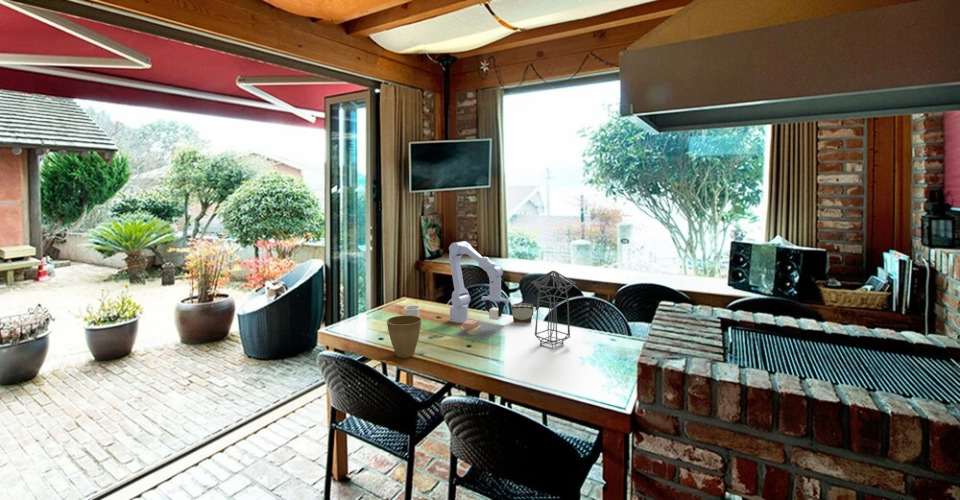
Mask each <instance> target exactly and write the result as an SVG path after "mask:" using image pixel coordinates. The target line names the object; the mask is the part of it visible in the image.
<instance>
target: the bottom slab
mask: <svg viewBox="0 0 960 500" xmlns="http://www.w3.org/2000/svg"><path fill="white" fill-rule="evenodd" d="M459 331H460V333H464V334H471V335H476V334H477V333H479V332H480V331H482V326H481V325H479V326H478V327H477V328H475V329H468V328H463V326H461V327H460V328H459Z"/></svg>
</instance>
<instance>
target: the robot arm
mask: <svg viewBox="0 0 960 500" xmlns="http://www.w3.org/2000/svg"><path fill="white" fill-rule="evenodd" d="M448 251H449V255H448V259H449V265H450V272H451V276H452V282H453V288H454V290H453V291H452V293H451V307H450V309H449V322H451V323H453V322H454V323H458V324H463V323H464V322H465V321H467V320H469V306H470V305H469V304H470V302H471V301H472V299H471V295H470V293H469V290H468V289H467V288H466V287H465V284H464V283H465V282H464V278H463V277H464V276H463V271H462V267H461V258H462V257H463V256H464V255H467V256H469V257H470V258H472V259H473V260H475V262H477V264H478V266H479V267H480V268H481V269H483V271H485V272H486V273H487V277H488V278H489V279H488V280H489V295H487V296H486V295H485V296H484V295H483V296H481V301H482V302H483V301H485V302H484V304H485V306H486V309H487V311H488V313H489V309H491V308H493V304H494V302H495V303H497V308H498V310H499V312H498V315H499V317H500V316H501V317H502V313H503V311H504V308H505V305H506V304H509V303H510V299H509V298H505V297H502V276H503V274H504V268H503V267H502V266H501V265H499V264H496V263H495V262H493V261H492V260H490V258H489V257H488V256H482V255H481V254H480V253H479V252H478V251H477V250H476V249H475V248H473V246H472V245H471V243H469V242H468V241H466V240H462V241H458V242H457V241H456V242H452V243H451V244H450V245H449V247H448Z"/></svg>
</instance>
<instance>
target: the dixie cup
mask: <svg viewBox="0 0 960 500" xmlns="http://www.w3.org/2000/svg"><path fill="white" fill-rule="evenodd" d="M420 309H421V307H420V306H419V305H407V306H405V307H404V308H403V310H404V314H405V315H411V316H417V317H420Z"/></svg>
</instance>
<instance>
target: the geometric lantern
mask: <svg viewBox="0 0 960 500" xmlns="http://www.w3.org/2000/svg"><path fill="white" fill-rule="evenodd" d="M565 279H566V280H567V281H566V280H565ZM550 280H553V281H552V283H553V284H552V285H553V286H547V285H548V284H549V282H550ZM555 283H556V287H555ZM530 284H532V285H534V287H535V288H536V289H538V295H537V299H536V300H537V301H536V302H537V303H536V318H535V319H536V320H535V328H534V329H535V330H534V337H536V338H537V339H538V341H540V344H539V345H540V346H541V347H544V348H548V349H552V350H554V349H558V348H560V347H562V346H564V342H565V341H567V340H568V339H570V338H571V328H570V308H569V307H570V306H569V305H570V303H569V302H570V300H569V297H568V291H569V290H571V288H572V287H574V286H575V285H576V281H573V280H572V279H570V278H568V277H566V276H565V275H563V274H561V273H560V272H558V271H556V270H551V271H549V272H547V273H545V274H543V275H542V276H540V277H537V278H536V279H534V280H532V281H531V282H530ZM567 284H568V285H567ZM563 285H564V286H563ZM541 289H543V290H541ZM545 289H546V290H545ZM553 289H556V291H555V292H554V294H553V295H552V294H551V293H550V291H551V290H553ZM563 289H564V290H563ZM558 291H559V292H560V295H556V294H557V293H558ZM542 293H544V294H545V296H542V297H541V294H542ZM547 293H549V295H548V294H547ZM562 294H565V296H566V297H563V296H561V295H562ZM552 297H553V302H552ZM544 298H547V299H548V301H544V300H541V299H544ZM556 298H557V299H556ZM559 298H560V299H564V300H562V301H559ZM557 301H559V302H557ZM540 302H544V303H547V304H549V306H548V319H547V329H545V330H543V331H539V332H538V318H539V316H538V315H539V308H540ZM564 302H566V307H567V308H566V309H567V333H566V332H562V331H559V330H558V318H557V304H561V303H564ZM552 325H553V326H552ZM552 327H553V328H552ZM549 331H550V332H549ZM545 332H547V335H548V336H547V337H542V336H539V335H538V334H541V333H545ZM554 332H555V337H554V336H553V334H554ZM558 333H560V334H564V335H565V337H563V338H559V337H558ZM552 339H554V340H552ZM544 340H545V341H544ZM543 344H548V345H551V346H552V347H549V346H547V345H543ZM557 344H560V345H558V346H556V345H557Z"/></svg>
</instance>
